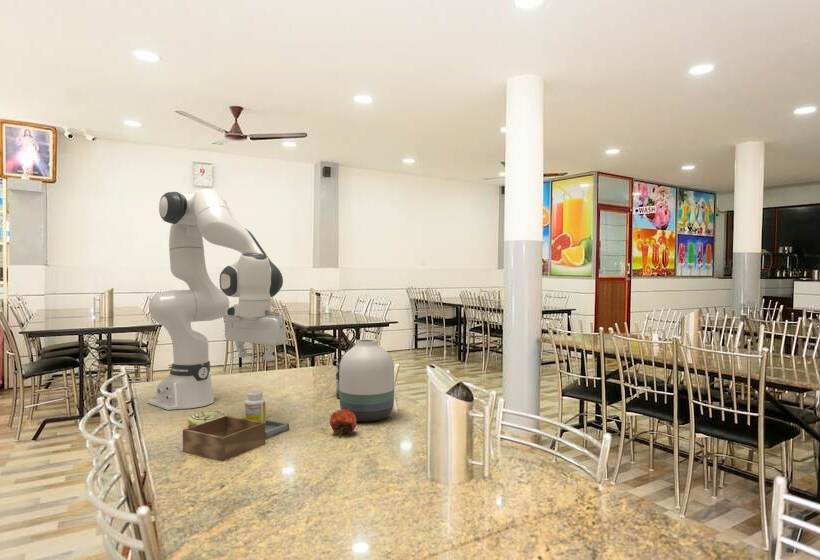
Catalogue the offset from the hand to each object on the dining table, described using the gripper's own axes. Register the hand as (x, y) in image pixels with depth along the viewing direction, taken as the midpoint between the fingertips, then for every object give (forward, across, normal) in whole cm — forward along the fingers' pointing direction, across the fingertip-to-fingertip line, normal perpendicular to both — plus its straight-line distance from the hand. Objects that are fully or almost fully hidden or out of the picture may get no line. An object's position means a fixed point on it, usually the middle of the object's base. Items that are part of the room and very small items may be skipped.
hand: (255, 358), depth 147 cm
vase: (+21, -21, -26) cm, 39 cm away
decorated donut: (+21, +16, +3) cm, 27 cm away
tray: (+21, 0, 0) cm, 21 cm away
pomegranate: (+21, -24, -9) cm, 33 cm away
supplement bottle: (+20, 0, 0) cm, 20 cm away
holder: (+21, -3, +14) cm, 25 cm away
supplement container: (+21, -2, -45) cm, 50 cm away
